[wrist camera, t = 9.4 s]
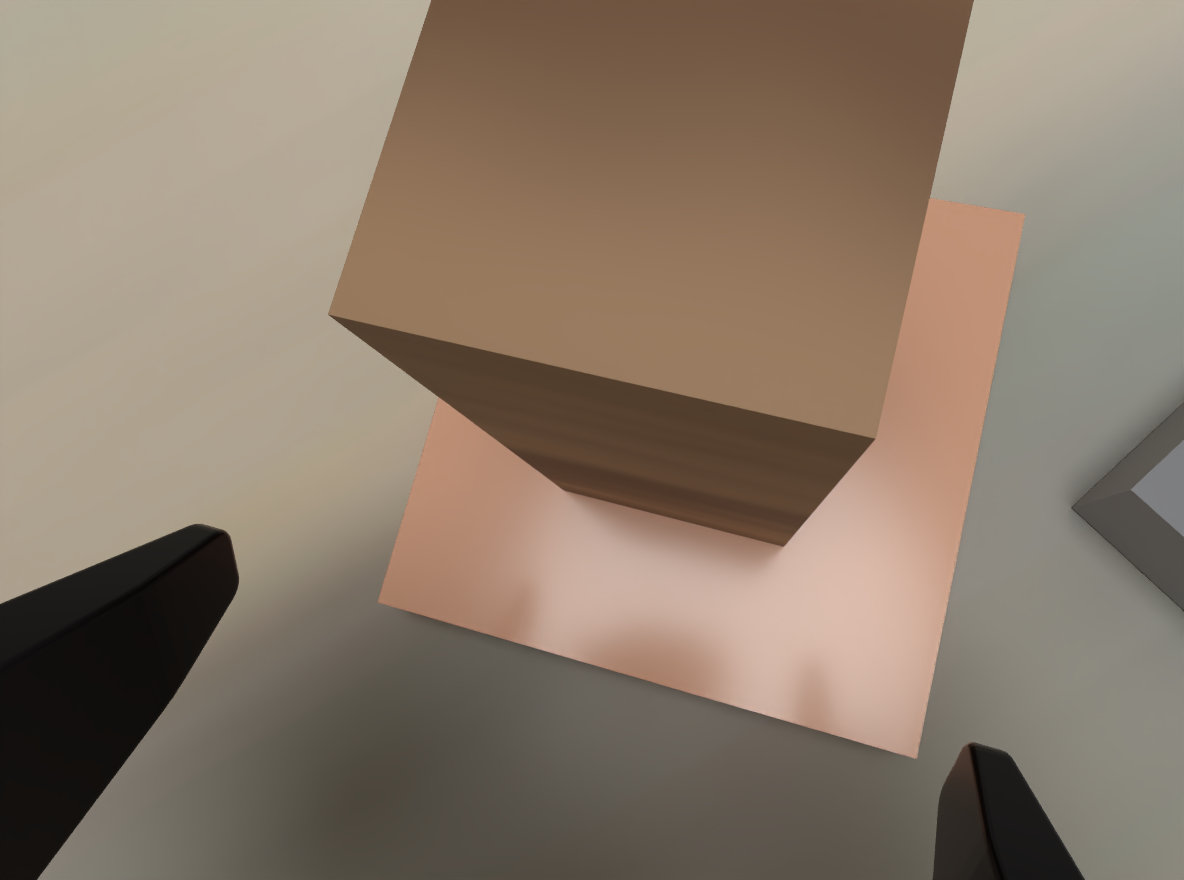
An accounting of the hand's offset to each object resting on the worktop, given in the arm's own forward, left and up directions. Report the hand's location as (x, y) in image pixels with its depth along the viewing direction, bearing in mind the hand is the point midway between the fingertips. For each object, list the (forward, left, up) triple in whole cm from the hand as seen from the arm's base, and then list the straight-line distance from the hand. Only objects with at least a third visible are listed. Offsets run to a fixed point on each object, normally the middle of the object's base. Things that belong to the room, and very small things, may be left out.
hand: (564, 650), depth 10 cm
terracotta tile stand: (+5, 0, -11) cm, 12 cm away
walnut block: (+5, 0, -9) cm, 10 cm away
